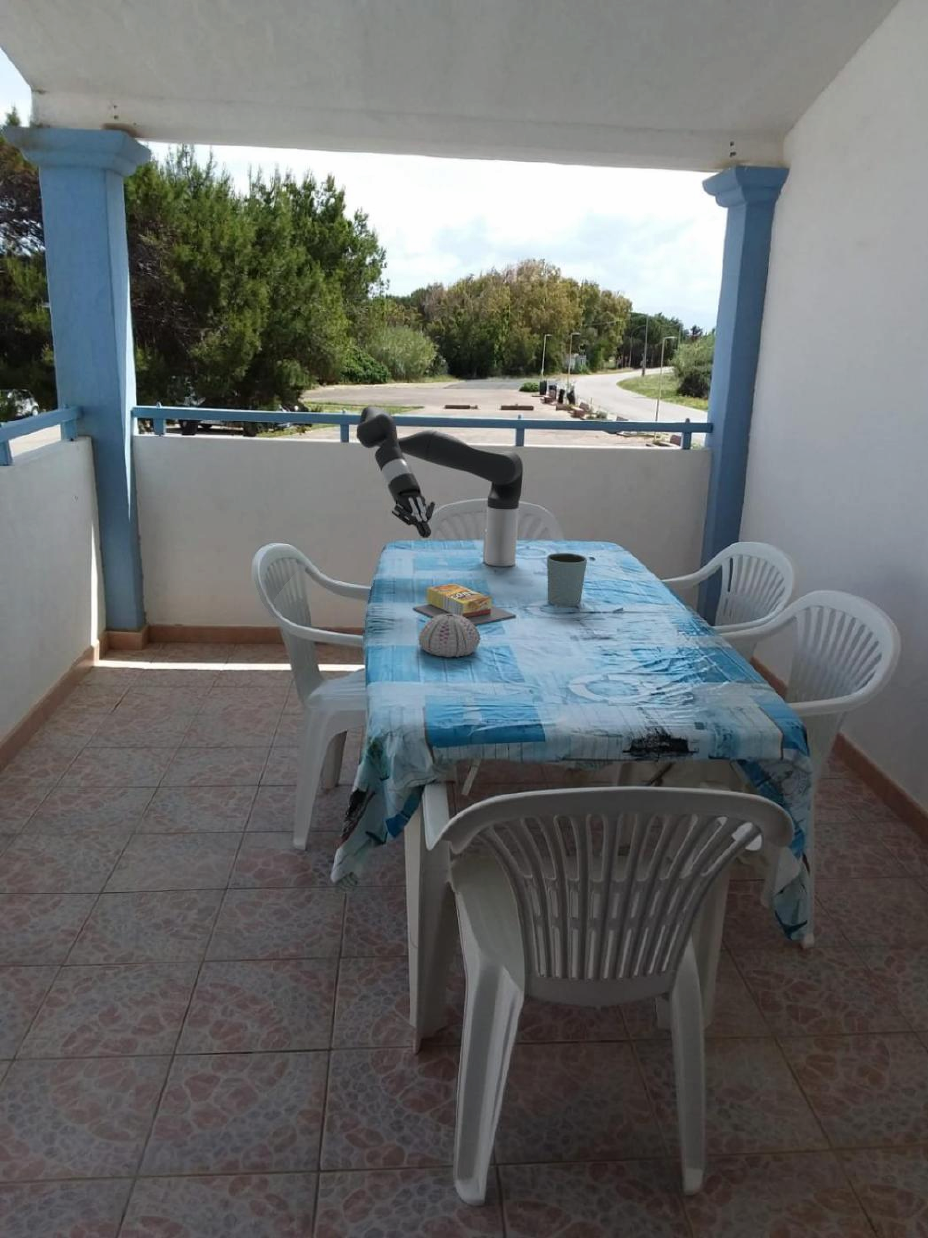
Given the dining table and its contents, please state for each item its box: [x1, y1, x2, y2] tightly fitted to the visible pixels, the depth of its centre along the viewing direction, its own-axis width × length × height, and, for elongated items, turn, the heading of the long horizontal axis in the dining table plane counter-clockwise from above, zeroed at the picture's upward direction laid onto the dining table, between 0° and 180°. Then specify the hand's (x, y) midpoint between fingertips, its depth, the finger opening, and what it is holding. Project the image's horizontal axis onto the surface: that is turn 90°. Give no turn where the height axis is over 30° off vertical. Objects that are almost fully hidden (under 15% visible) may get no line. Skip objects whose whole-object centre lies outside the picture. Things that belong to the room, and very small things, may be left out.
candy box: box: [426, 583, 492, 618], centre depth 213 cm, size 9×4×15 cm
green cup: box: [546, 552, 588, 608], centre depth 222 cm, size 10×10×12 cm
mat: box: [412, 603, 517, 627], centre depth 212 cm, size 18×18×1 cm
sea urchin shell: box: [417, 613, 481, 658], centre depth 185 cm, size 13×14×8 cm
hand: (426, 536), depth 219 cm, fingers closed
